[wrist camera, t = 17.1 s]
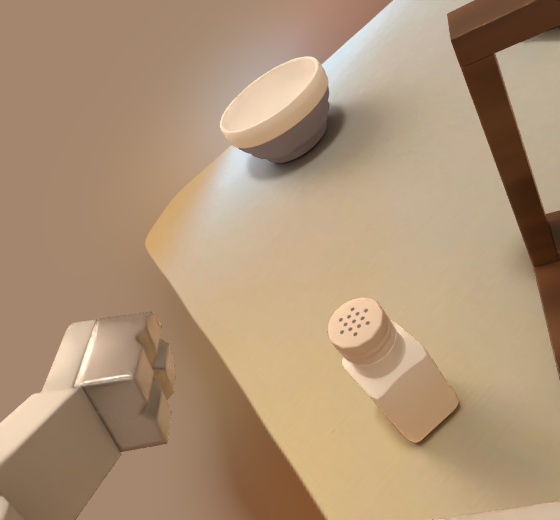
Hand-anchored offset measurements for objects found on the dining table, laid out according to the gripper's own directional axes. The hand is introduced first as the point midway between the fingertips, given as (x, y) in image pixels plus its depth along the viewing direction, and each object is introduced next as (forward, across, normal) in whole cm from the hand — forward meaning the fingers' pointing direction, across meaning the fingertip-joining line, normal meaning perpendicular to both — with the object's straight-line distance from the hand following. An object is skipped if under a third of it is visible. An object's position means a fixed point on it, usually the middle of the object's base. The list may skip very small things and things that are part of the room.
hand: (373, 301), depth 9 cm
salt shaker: (+12, +5, -21) cm, 25 cm away
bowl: (+54, +2, -20) cm, 58 cm away
